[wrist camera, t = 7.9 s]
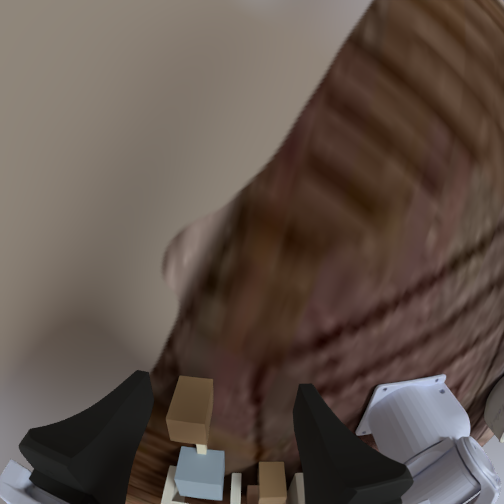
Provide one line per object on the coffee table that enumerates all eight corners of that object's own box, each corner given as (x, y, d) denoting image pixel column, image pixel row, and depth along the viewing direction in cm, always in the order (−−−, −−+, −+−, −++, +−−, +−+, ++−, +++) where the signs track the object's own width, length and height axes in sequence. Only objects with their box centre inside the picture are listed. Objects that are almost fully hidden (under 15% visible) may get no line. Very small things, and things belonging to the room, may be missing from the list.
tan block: (291, 461, 27) (296, 496, 22) (278, 497, 30) (280, 524, 25) (250, 461, 27) (250, 497, 21) (245, 497, 30) (245, 525, 25)
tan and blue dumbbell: (224, 379, 23) (218, 425, 18) (224, 469, 27) (221, 503, 22) (169, 373, 23) (153, 416, 18) (185, 465, 27) (179, 498, 22)
